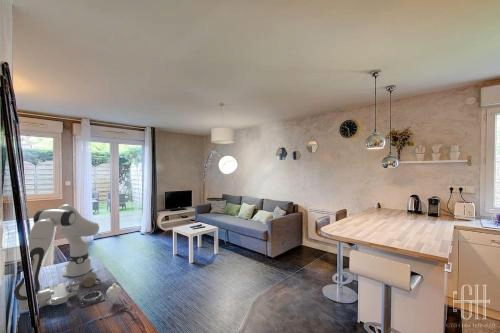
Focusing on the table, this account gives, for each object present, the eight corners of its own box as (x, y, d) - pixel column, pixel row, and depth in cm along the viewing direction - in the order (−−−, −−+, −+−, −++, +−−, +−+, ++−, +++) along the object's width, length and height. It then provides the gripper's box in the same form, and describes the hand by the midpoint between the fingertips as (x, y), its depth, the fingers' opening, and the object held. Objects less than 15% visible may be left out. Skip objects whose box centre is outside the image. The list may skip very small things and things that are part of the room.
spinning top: (107, 301, 140) (107, 281, 140) (121, 298, 143) (122, 279, 143) (104, 308, 133) (105, 288, 133) (119, 305, 136) (120, 285, 136)
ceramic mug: (82, 289, 152) (82, 277, 152) (83, 283, 159) (83, 272, 159) (100, 285, 158) (101, 274, 158) (101, 280, 165) (101, 269, 165)
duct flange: (78, 299, 141) (78, 294, 141) (100, 292, 149) (101, 288, 149) (81, 308, 132) (81, 303, 132) (105, 300, 141) (105, 296, 141)
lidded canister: (67, 298, 142) (68, 282, 142) (78, 295, 145) (78, 279, 146) (68, 301, 138) (69, 285, 138) (79, 298, 142) (80, 282, 142)
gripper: (47, 299, 125) (78, 290, 135) (45, 285, 140) (73, 278, 150) (46, 311, 125) (77, 301, 135) (45, 295, 140) (73, 287, 150)
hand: (75, 289), depth 142 cm, fingers open, 8 cm apart
